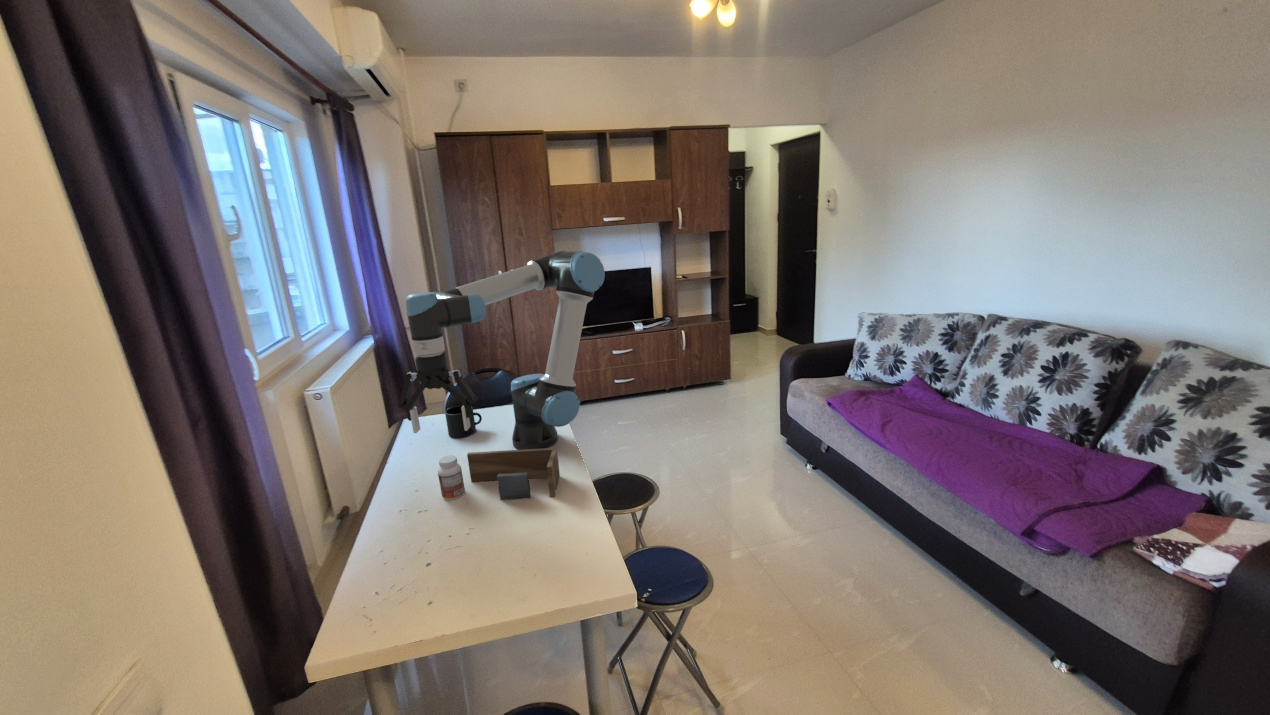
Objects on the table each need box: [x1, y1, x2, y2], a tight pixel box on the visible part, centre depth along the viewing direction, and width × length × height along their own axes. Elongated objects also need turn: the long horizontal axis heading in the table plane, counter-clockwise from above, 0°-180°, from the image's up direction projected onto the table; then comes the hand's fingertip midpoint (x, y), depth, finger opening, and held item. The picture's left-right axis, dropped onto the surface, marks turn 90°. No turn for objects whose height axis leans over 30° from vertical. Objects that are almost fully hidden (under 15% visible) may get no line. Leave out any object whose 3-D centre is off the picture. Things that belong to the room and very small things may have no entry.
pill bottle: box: [437, 454, 466, 501], centre depth 144 cm, size 6×6×11 cm
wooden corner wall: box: [466, 447, 561, 498], centre depth 146 cm, size 12×26×9 cm, turn 90°
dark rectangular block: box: [497, 472, 532, 501], centre depth 141 cm, size 2×8×7 cm, turn 90°
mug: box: [444, 404, 483, 439], centre depth 186 cm, size 9×12×9 cm
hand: (442, 429), depth 140 cm, fingers open, 13 cm apart
